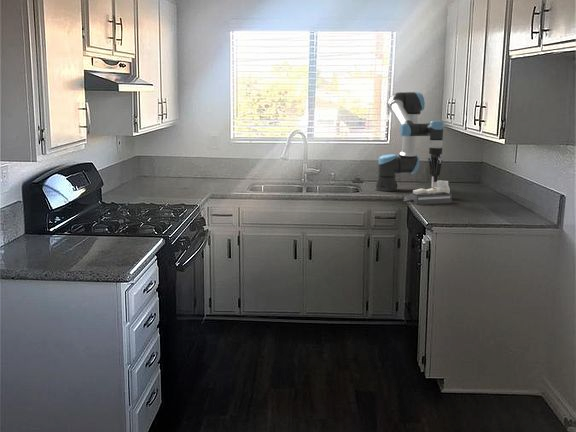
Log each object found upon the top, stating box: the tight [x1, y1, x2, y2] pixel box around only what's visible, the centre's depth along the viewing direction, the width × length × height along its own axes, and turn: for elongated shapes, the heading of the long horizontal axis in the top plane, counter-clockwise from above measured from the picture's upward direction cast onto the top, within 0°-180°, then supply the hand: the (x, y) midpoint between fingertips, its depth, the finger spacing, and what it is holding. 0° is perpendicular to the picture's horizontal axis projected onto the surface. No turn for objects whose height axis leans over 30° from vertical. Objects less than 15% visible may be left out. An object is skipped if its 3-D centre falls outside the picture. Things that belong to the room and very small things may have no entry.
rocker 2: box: [424, 187, 437, 194], centre depth 383 cm, size 5×6×2 cm
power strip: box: [402, 192, 453, 206], centre depth 383 cm, size 9×29×5 cm, turn 106°
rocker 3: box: [436, 188, 449, 193], centre depth 386 cm, size 5×6×2 cm
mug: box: [433, 179, 451, 194], centre depth 399 cm, size 12×8×10 cm
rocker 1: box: [412, 187, 426, 194], centre depth 381 cm, size 5×6×2 cm
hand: (434, 187), depth 384 cm, fingers closed
